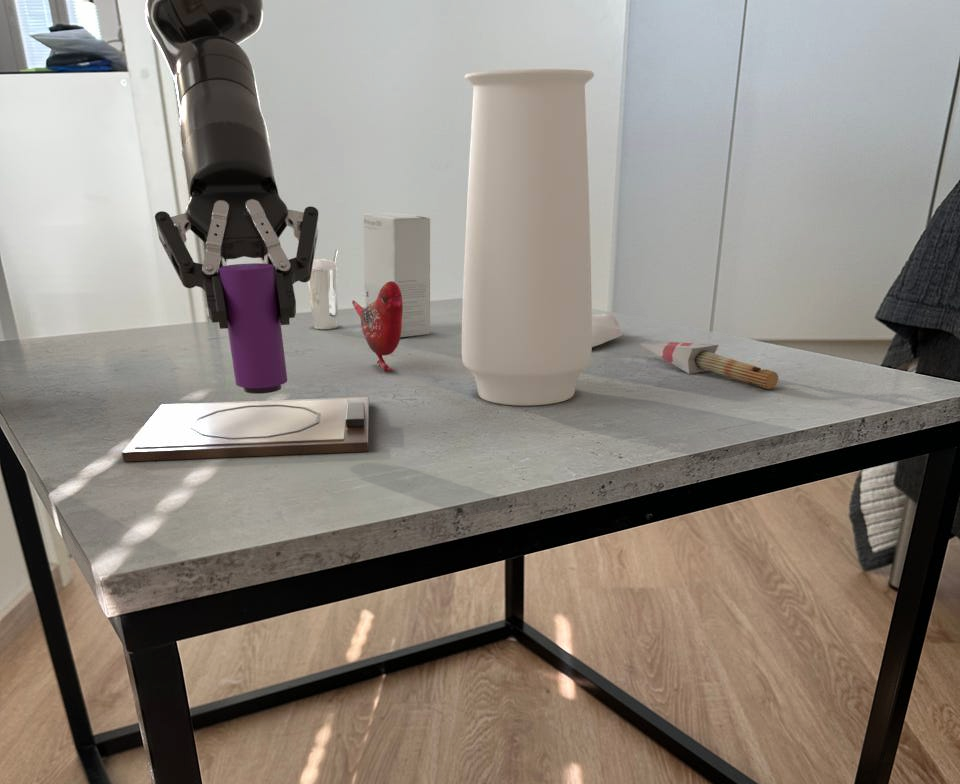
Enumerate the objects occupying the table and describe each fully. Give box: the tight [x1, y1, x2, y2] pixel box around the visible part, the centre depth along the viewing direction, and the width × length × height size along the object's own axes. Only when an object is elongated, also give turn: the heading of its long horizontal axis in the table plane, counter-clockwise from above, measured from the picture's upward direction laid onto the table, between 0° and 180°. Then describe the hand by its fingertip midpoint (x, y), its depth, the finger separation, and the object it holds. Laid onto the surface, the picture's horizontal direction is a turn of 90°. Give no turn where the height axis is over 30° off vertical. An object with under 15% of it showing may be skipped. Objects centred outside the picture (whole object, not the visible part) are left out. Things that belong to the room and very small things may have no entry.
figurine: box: [592, 310, 624, 348], centre depth 116 cm, size 20×18×16 cm
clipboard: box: [121, 396, 370, 463], centre depth 83 cm, size 20×16×2 cm
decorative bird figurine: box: [351, 281, 403, 372], centre depth 105 cm, size 3×18×10 cm, turn 23°
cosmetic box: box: [362, 212, 431, 338], centre depth 123 cm, size 8×6×15 cm
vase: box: [461, 68, 595, 407], centre depth 88 cm, size 13×13×28 cm
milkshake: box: [306, 249, 339, 330], centre depth 129 cm, size 4×5×10 cm
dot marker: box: [219, 262, 288, 395], centre depth 78 cm, size 4×4×10 cm
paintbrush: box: [639, 340, 779, 390], centre depth 102 cm, size 4×3×20 cm
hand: (254, 320), depth 76 cm, fingers closed on dot marker, 4 cm apart
